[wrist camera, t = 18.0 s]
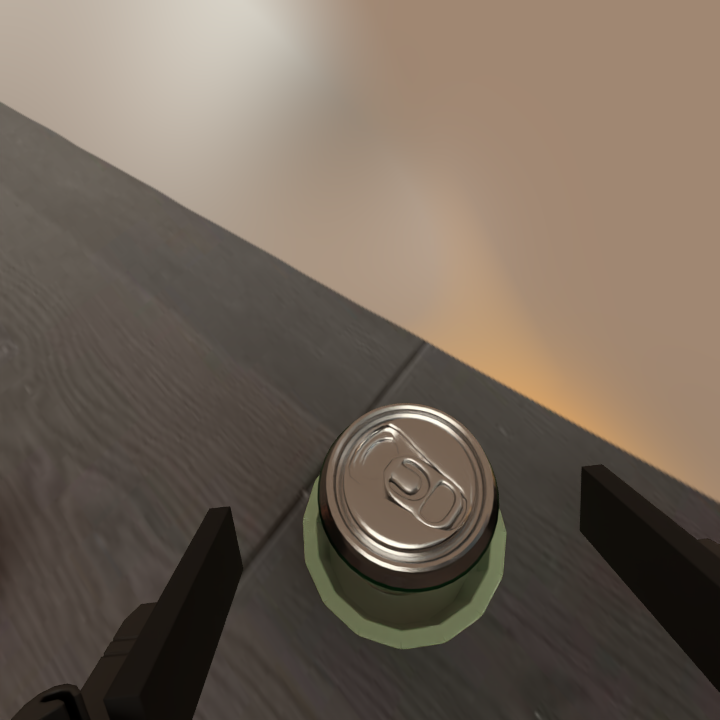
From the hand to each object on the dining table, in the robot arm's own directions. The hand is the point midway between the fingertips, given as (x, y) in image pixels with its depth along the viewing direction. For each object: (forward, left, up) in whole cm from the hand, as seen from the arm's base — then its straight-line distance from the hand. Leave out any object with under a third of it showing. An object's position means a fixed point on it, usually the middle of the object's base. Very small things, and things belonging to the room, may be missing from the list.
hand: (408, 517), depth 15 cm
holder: (0, 0, -7) cm, 7 cm away
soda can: (0, 0, -7) cm, 7 cm away
